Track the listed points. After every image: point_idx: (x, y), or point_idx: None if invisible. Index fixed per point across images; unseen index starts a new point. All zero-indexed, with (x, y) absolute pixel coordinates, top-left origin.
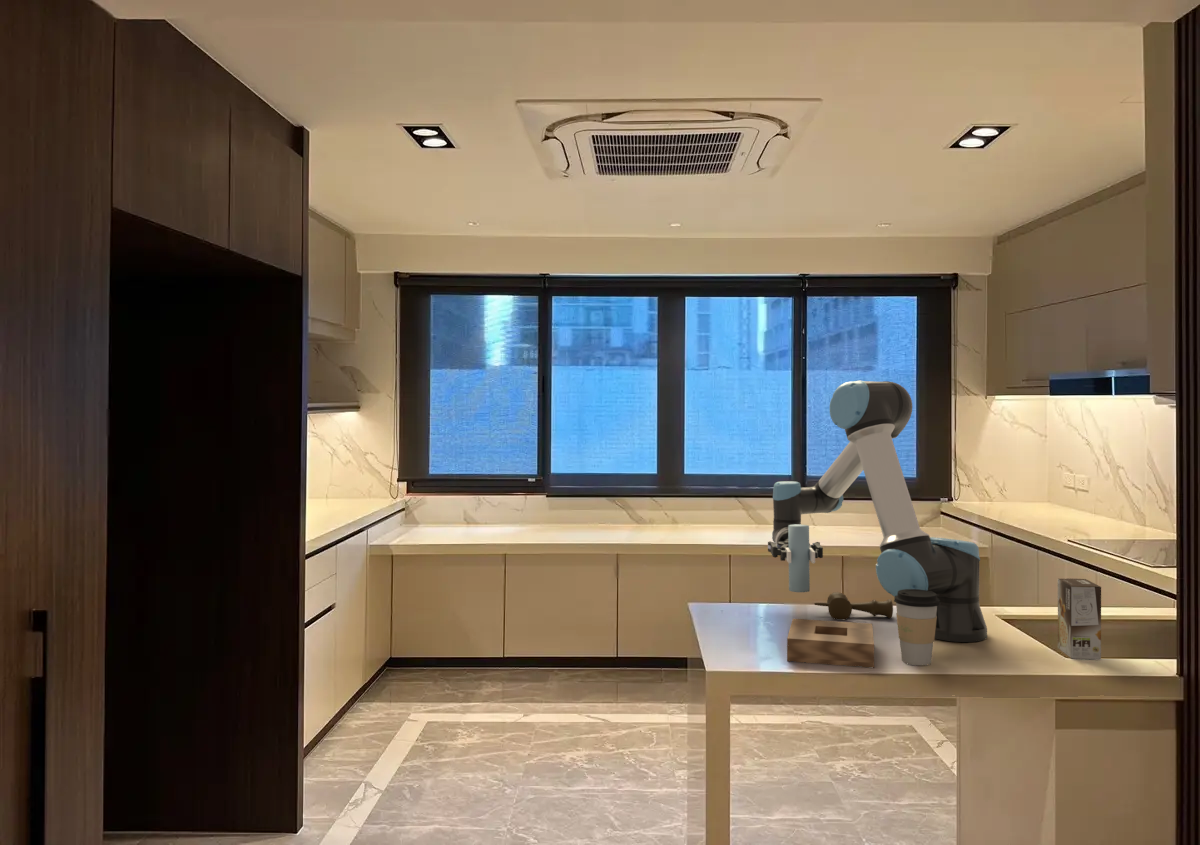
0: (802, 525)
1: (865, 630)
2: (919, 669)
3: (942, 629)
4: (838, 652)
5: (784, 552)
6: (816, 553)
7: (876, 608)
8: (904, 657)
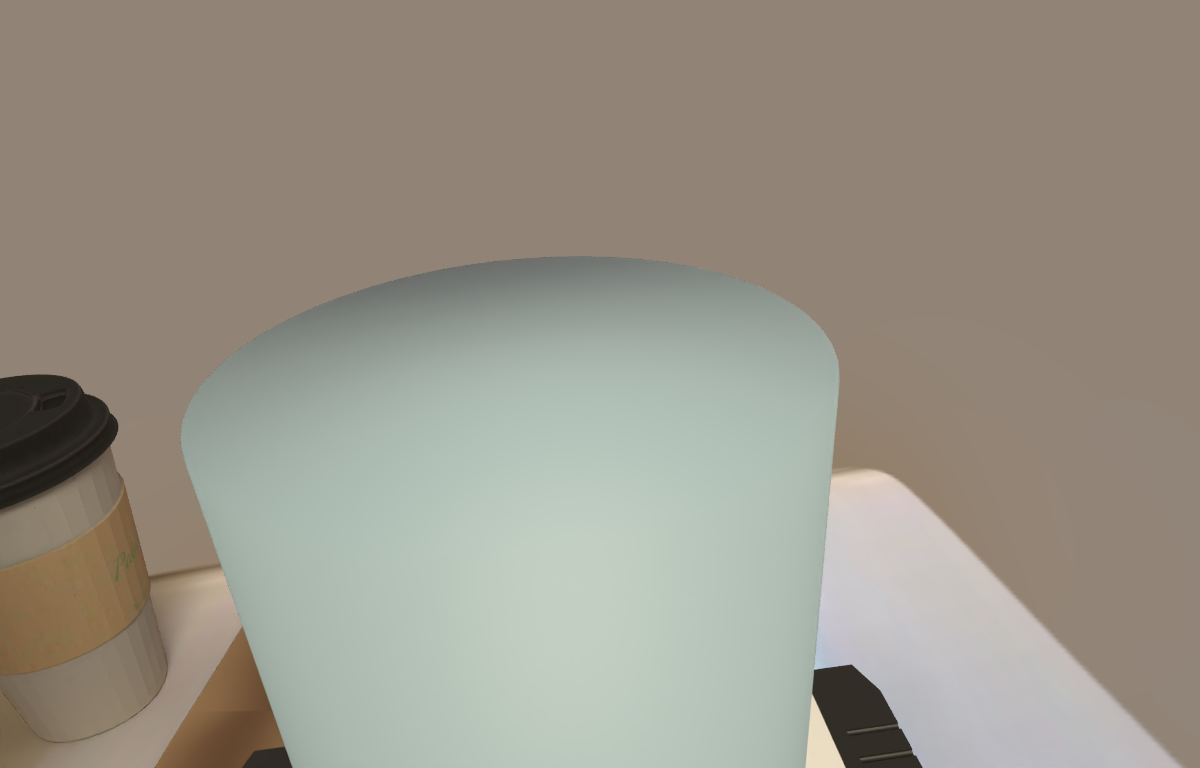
0: (389, 393)
1: (244, 684)
2: (159, 611)
3: None
4: None
5: (820, 674)
6: (272, 758)
7: None
8: (162, 647)
